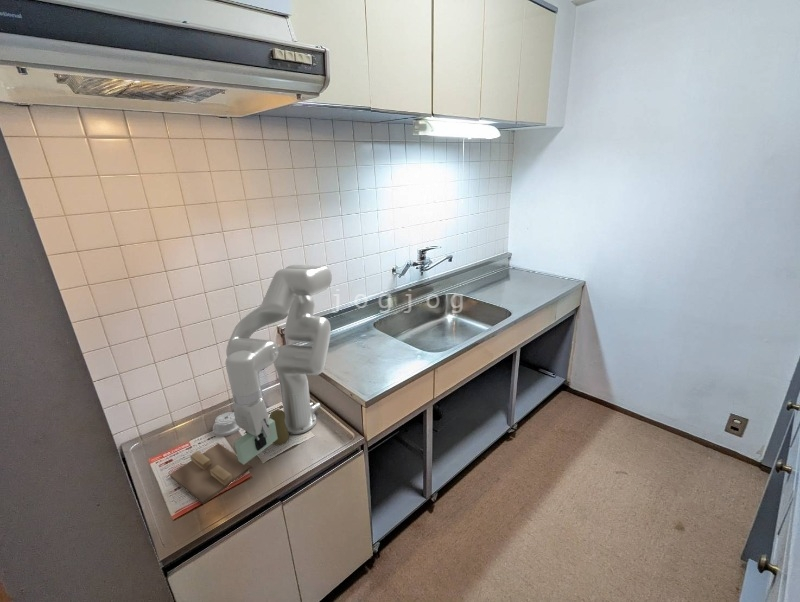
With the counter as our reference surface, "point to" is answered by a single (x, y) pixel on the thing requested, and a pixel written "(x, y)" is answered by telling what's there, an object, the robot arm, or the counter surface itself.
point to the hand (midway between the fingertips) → (258, 444)
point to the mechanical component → (225, 424)
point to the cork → (280, 427)
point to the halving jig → (209, 472)
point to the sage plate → (253, 444)
